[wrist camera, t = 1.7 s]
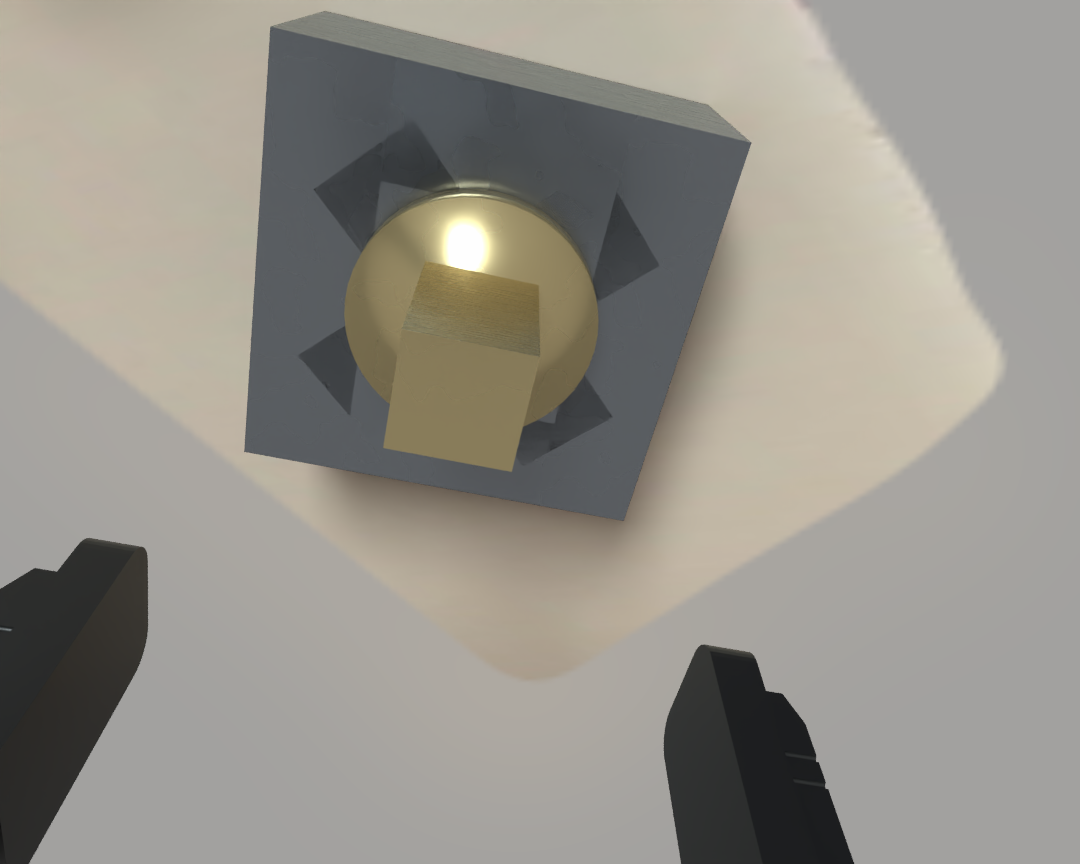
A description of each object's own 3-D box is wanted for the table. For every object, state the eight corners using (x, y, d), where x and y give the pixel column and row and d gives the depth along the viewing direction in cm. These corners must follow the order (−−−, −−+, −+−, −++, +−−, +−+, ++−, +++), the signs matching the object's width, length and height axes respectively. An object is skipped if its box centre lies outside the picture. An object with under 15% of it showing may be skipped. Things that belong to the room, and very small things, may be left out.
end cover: (361, 341, 28) (292, 499, 20) (389, 133, 25) (319, 222, 17) (560, 381, 29) (571, 549, 21) (612, 185, 25) (650, 293, 17)
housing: (292, 367, 31) (244, 451, 26) (325, 11, 25) (270, 26, 20) (608, 428, 32) (623, 520, 27) (708, 105, 26) (751, 142, 21)
